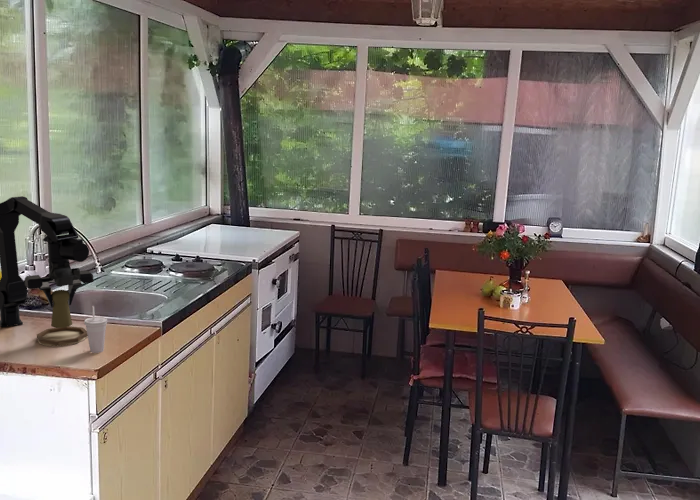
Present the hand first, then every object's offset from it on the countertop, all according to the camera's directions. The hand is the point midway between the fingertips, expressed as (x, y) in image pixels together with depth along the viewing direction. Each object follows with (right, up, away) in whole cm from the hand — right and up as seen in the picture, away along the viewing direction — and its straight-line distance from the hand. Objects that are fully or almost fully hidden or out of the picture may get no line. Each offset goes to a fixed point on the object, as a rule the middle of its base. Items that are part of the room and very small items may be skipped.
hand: (60, 306), depth 199 cm
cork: (0, -6, +1) cm, 6 cm away
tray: (0, -10, +2) cm, 11 cm away
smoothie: (+14, -13, -7) cm, 20 cm away
